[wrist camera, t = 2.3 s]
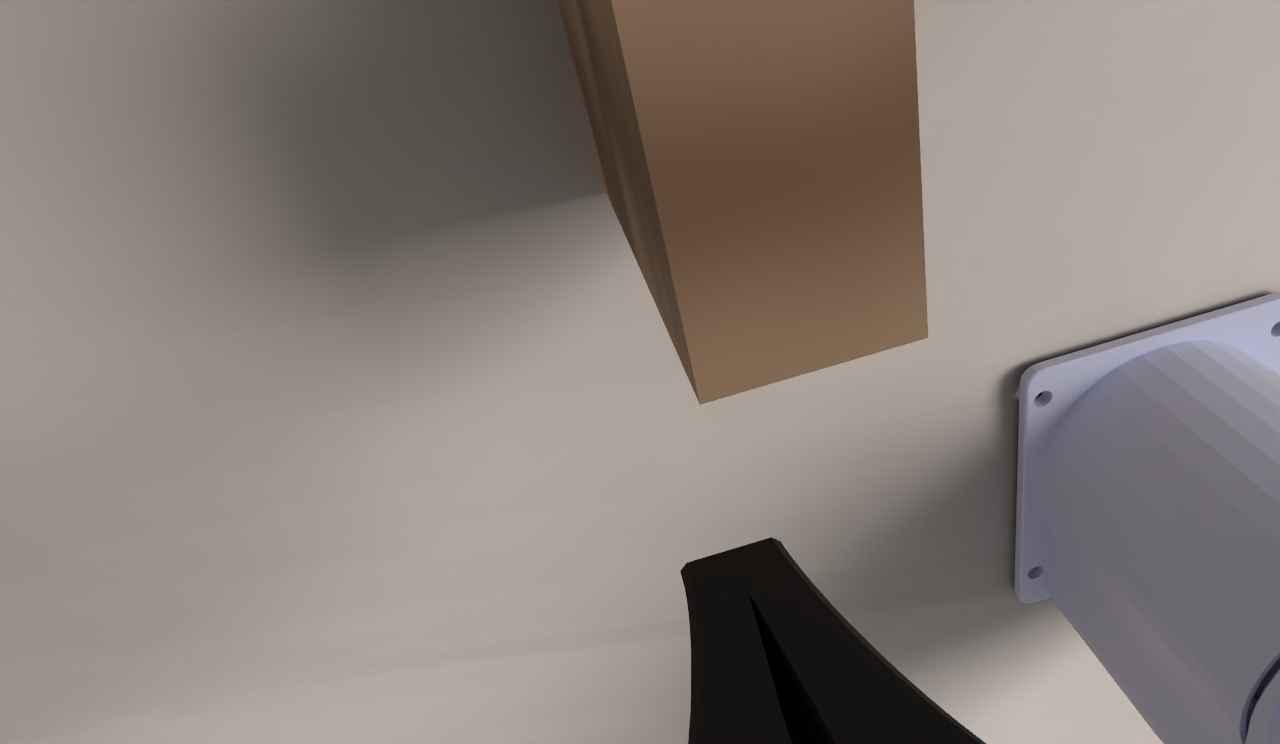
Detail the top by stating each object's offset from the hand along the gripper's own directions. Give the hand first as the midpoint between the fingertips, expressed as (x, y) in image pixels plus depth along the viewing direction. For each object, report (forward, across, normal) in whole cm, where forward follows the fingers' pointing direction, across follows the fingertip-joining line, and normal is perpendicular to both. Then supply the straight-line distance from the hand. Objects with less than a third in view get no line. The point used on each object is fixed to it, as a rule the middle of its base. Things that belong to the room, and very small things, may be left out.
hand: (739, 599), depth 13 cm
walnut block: (+10, -2, -5) cm, 12 cm away
